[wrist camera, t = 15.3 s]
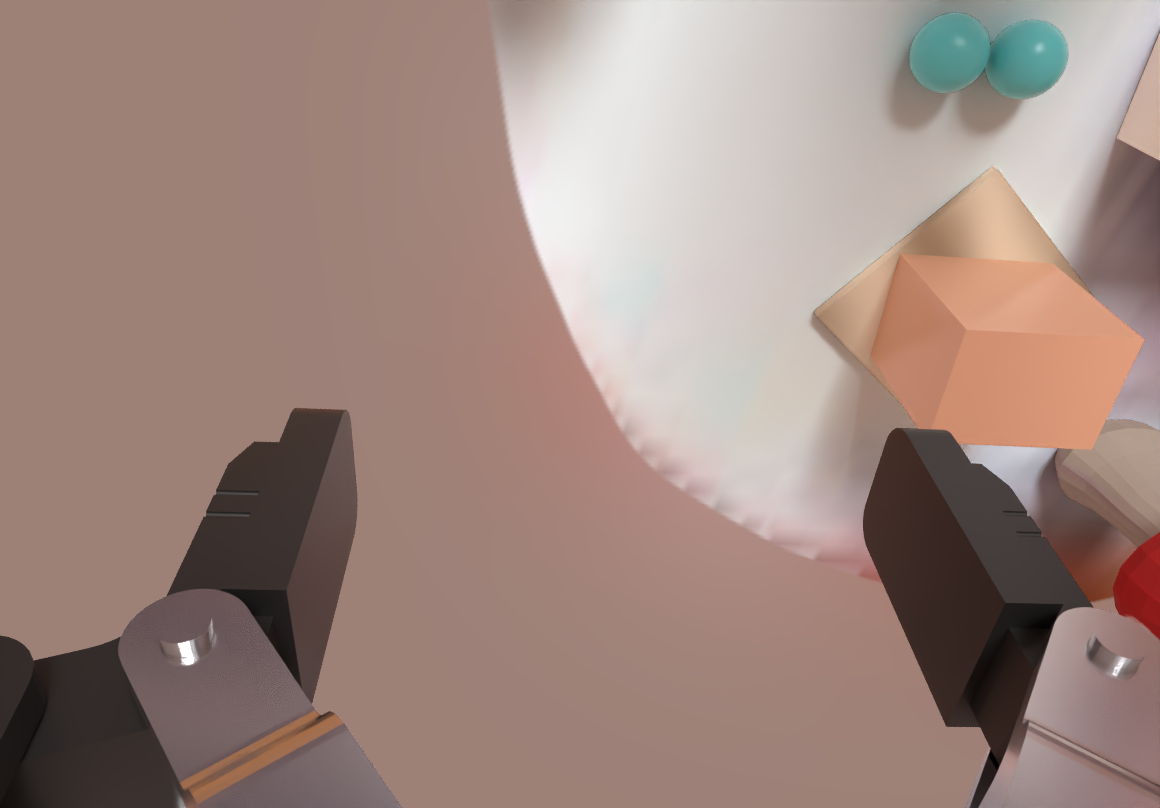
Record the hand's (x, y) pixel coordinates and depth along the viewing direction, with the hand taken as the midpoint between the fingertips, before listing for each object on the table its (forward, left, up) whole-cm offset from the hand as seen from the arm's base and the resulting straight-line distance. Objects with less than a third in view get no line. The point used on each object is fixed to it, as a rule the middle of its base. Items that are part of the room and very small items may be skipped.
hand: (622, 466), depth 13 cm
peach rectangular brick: (-5, +21, -27) cm, 35 cm away
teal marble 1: (-11, +10, -28) cm, 32 cm away
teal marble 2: (-13, +13, -28) cm, 33 cm away
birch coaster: (-5, +22, -28) cm, 36 cm away
